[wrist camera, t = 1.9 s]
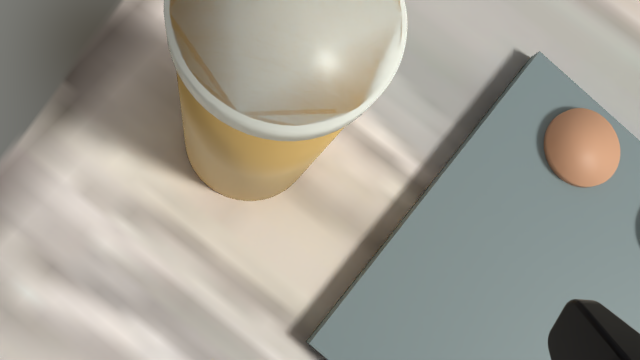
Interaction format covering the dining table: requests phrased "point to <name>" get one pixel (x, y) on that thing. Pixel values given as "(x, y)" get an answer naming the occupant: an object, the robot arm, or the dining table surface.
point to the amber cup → (276, 82)
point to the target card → (504, 236)
